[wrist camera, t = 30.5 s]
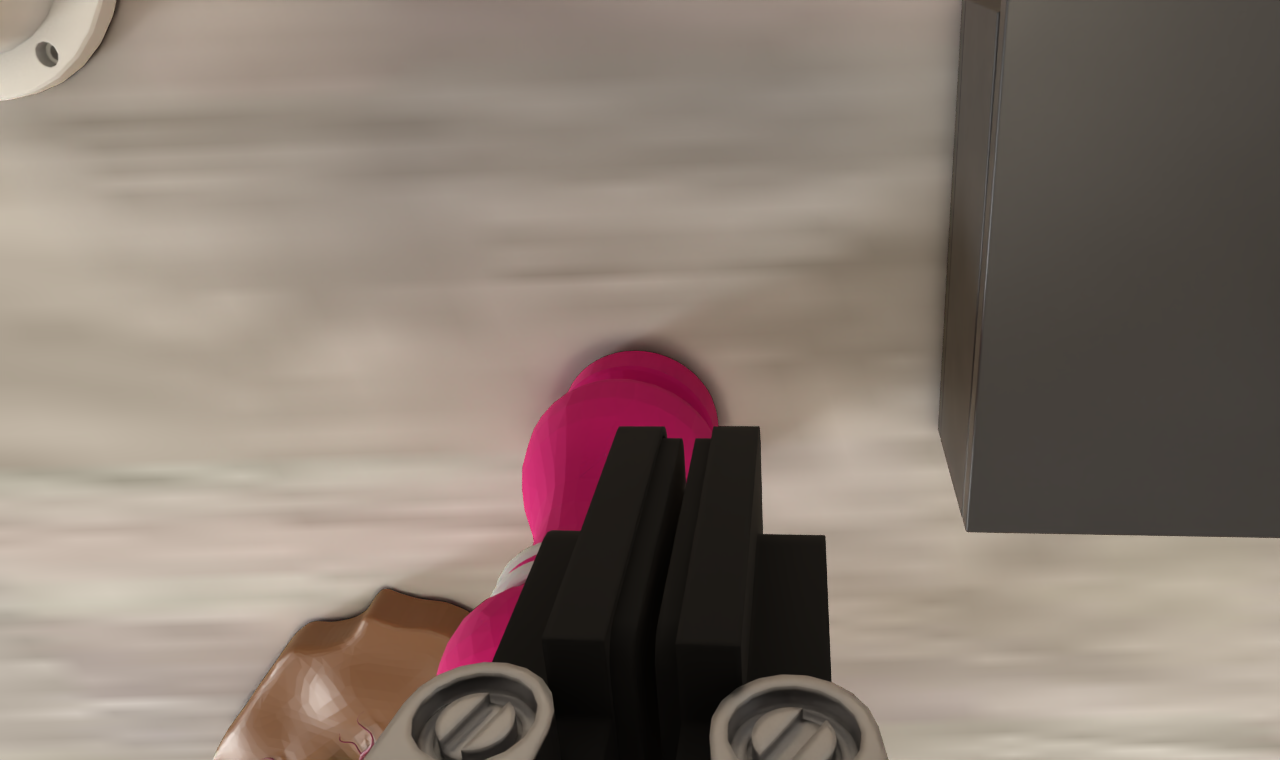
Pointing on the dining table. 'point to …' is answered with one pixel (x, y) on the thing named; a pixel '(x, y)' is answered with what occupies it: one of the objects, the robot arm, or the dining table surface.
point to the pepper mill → (583, 467)
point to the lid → (1130, 273)
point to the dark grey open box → (967, 228)
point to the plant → (343, 682)
